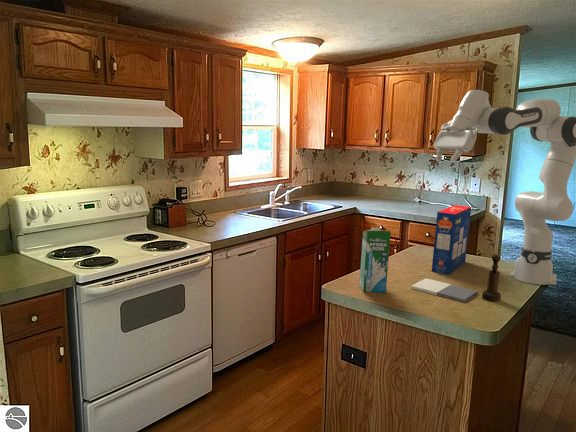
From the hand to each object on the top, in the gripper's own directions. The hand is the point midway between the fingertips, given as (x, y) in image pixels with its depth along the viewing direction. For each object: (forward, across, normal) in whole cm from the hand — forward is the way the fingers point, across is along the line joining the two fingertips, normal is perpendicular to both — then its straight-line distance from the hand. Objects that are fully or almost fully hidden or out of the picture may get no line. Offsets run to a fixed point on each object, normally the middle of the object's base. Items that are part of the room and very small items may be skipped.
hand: (444, 160), depth 182 cm
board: (+45, +2, -28) cm, 53 cm away
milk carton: (+57, +10, -3) cm, 58 cm away
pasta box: (+33, +33, -49) cm, 68 cm away
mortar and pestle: (+39, -10, -40) cm, 57 cm away
